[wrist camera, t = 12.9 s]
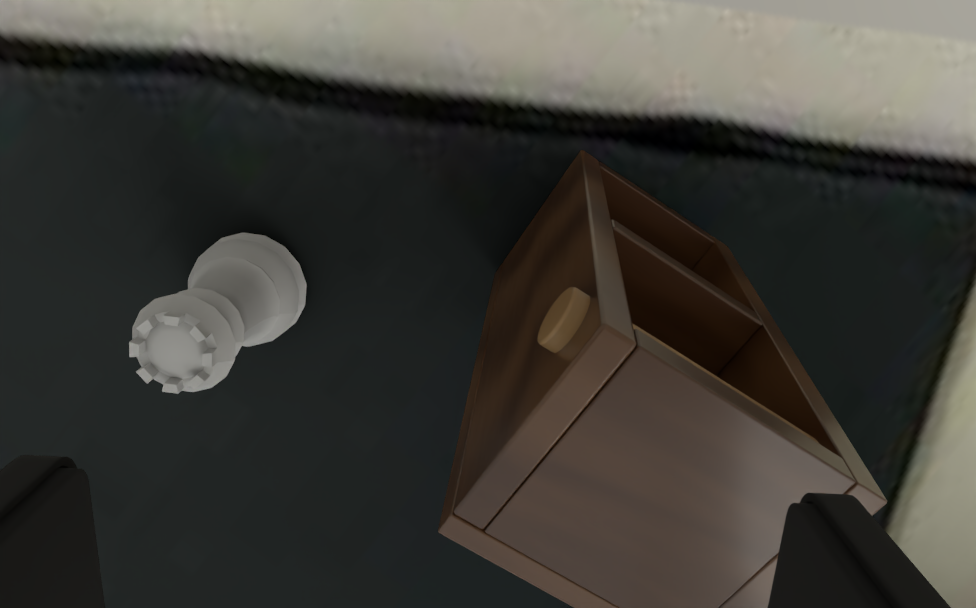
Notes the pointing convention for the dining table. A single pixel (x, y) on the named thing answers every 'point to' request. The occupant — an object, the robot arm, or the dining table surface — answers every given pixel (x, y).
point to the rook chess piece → (219, 313)
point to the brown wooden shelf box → (636, 413)
